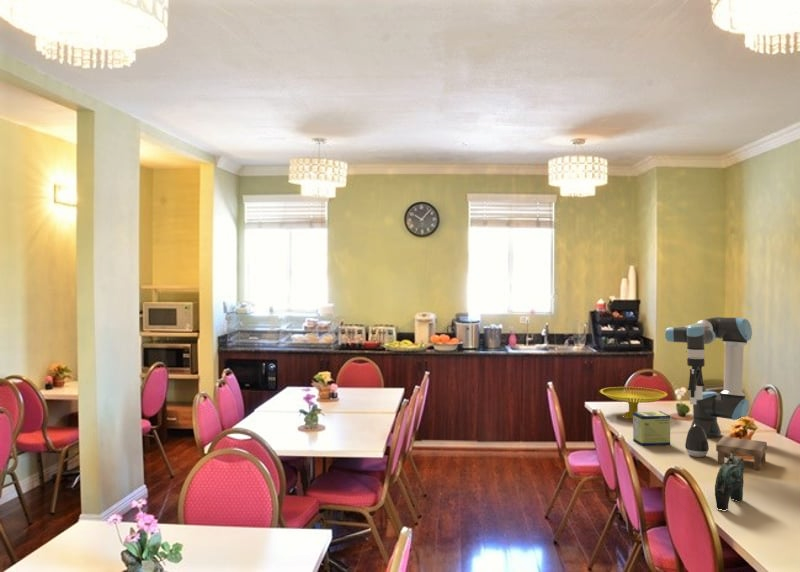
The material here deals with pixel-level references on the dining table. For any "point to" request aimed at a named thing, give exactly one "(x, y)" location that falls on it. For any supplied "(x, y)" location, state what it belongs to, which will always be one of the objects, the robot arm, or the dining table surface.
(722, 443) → the walnut footstool
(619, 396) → the cake stand
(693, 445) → the dark grey egg shape
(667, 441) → the protein box
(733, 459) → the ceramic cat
